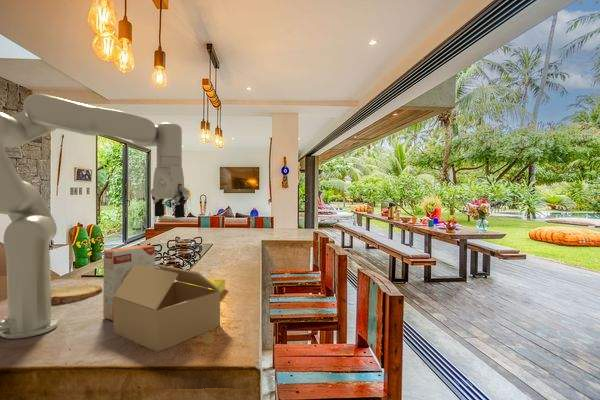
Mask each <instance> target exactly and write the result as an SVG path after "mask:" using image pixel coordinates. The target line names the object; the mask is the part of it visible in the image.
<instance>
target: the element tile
mask: <svg viewBox="0 0 600 400" xmlns="http://www.w3.org/2000/svg"><path fill="white" fill-rule="evenodd" d="M206 279H207V280H209V281H210V282H211V283H212V284H214V285H215V286H216V287H217V288H219V291H220V297H221V296H222V295H223V293H224V292H225V290H226V280H225V278H206ZM187 284H188V283H187ZM191 285H192V284H191ZM195 286H196V285H195ZM200 287H201V286H200ZM204 288H205V287H204ZM208 289H209V288H208ZM212 290H213V289H212ZM216 291H218V290H216Z"/></svg>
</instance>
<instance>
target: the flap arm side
mask: <svg viewBox="0 0 600 400" xmlns="http://www.w3.org/2000/svg"><path fill="white" fill-rule="evenodd" d="M177 276H178V273H174V272H169V271H165V270H161V269H160V268H151V267H146V266H142V265H137V264H135V265H134V266H133V268H132V269H131V271H130V272H129V273H128V275H127V276H126V278H125V279H124V281H123V282H122V284H121V285H120V286H119V288H118V289H117V291H116V292H115V294H114V295H113V296H114V297H117V298H121V299H124V300H127V301H130V302H133V303H136V304H139V305H142V306H145V307H148V308H151V309H154V310H157V308H158V307H159V305H160V303H161V302H162V300H163V298H164V297H165V295H166V294H167V292H168V290H169V289H170V287H171V285H172V284H173V282H174V281H176V280H175V279H176V277H177Z"/></svg>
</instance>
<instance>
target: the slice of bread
mask: <svg viewBox="0 0 600 400" xmlns="http://www.w3.org/2000/svg"><path fill="white" fill-rule="evenodd" d="M101 293H103V288H102V286H101V285H99V284H93V283H92V284H84V285H74V286H67V287H62V288H56V289H51V306H55V305H62V304H63V305H64V304H69V303H72V302H74V303H75V302H78V301H82V300H86V299H90V298H92V297H94V296H97V295H99V294H101Z"/></svg>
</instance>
